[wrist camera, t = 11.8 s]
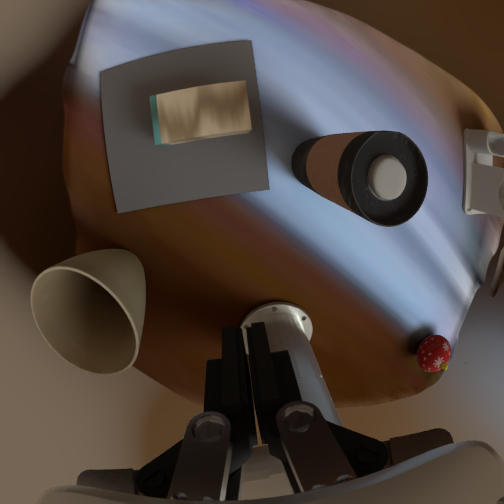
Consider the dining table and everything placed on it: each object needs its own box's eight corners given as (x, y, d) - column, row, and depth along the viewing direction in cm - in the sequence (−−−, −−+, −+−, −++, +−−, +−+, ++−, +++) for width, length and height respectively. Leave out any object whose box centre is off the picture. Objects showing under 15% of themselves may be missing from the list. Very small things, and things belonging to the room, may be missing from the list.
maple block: (166, 145, 33) (248, 133, 34) (155, 145, 28) (251, 129, 28) (161, 104, 31) (243, 91, 32) (149, 96, 26) (245, 80, 26)
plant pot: (159, 220, 38) (119, 264, 23) (173, 309, 43) (153, 380, 28) (75, 228, 37) (14, 268, 22) (95, 309, 42) (56, 368, 27)
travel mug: (319, 200, 38) (393, 247, 20) (278, 167, 36) (328, 185, 18) (350, 160, 37) (442, 176, 18) (310, 126, 35) (386, 108, 16)
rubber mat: (268, 189, 37) (269, 189, 37) (119, 212, 37) (117, 213, 36) (250, 41, 29) (251, 40, 29) (102, 73, 29) (100, 72, 28)
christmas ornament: (440, 322, 50) (464, 347, 41) (435, 348, 53) (455, 373, 44) (412, 335, 50) (435, 363, 41) (407, 361, 53) (427, 389, 44)
